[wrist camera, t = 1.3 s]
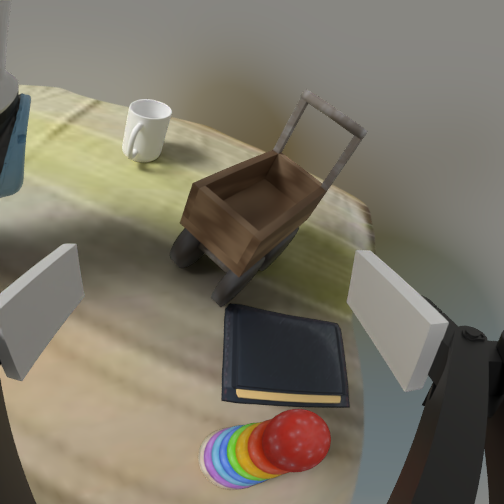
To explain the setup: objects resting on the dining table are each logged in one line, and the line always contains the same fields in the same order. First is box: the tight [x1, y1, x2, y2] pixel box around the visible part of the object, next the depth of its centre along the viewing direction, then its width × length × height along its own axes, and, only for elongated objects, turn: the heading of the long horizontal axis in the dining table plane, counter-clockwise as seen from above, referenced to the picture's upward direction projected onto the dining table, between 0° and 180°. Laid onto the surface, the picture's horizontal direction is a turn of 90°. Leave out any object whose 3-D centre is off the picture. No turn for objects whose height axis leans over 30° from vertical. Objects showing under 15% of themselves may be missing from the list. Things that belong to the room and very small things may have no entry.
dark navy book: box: [221, 303, 350, 408], centre depth 43 cm, size 20×2×15 cm
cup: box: [122, 99, 172, 162], centre depth 55 cm, size 8×12×10 cm
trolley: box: [170, 89, 367, 307], centre depth 41 cm, size 10×19×27 cm, turn 142°
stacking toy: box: [198, 409, 331, 490], centre depth 25 cm, size 8×8×19 cm
